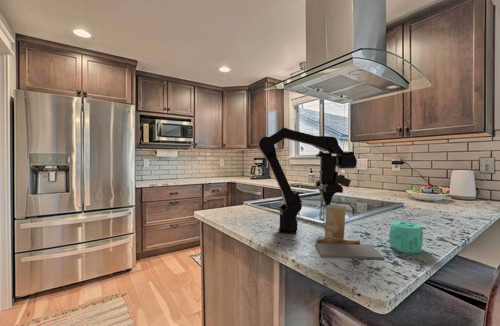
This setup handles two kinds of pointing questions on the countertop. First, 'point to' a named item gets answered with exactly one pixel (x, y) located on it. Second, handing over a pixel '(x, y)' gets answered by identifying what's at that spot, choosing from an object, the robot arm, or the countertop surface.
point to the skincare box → (335, 222)
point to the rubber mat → (348, 251)
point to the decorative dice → (406, 237)
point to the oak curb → (338, 241)
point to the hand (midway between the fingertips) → (327, 207)
